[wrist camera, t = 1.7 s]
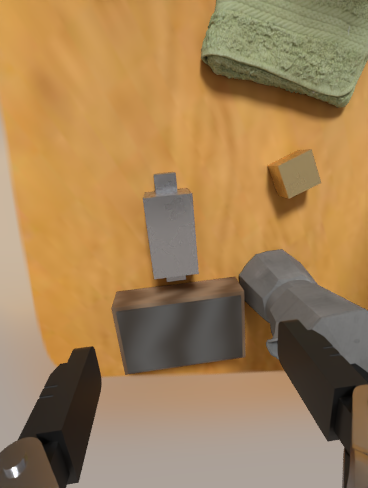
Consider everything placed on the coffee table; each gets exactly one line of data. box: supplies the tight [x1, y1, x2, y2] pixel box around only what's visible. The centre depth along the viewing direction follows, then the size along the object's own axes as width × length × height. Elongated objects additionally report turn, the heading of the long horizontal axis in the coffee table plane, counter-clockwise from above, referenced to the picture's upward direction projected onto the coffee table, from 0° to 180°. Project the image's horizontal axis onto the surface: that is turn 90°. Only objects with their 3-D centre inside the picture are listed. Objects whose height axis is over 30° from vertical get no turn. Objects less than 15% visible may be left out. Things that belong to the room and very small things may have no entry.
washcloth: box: [201, 0, 368, 107], centre depth 26 cm, size 13×18×3 cm
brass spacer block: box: [268, 149, 321, 199], centre depth 30 cm, size 4×4×3 cm
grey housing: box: [143, 172, 199, 282], centre depth 30 cm, size 5×13×5 cm, turn 5°
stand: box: [112, 277, 245, 375], centre depth 34 cm, size 16×10×4 cm, turn 95°
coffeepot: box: [239, 249, 368, 384], centre depth 28 cm, size 15×9×18 cm, turn 77°
